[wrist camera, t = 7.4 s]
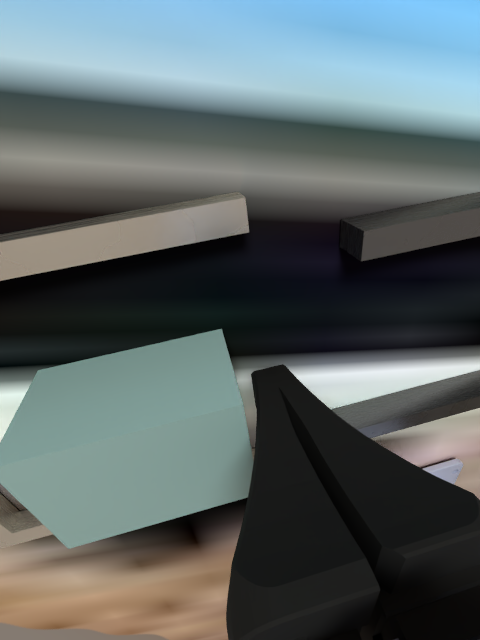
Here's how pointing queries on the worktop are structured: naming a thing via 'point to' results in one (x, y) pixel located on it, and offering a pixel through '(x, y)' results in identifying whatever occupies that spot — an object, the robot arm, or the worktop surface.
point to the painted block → (129, 439)
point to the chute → (231, 219)
